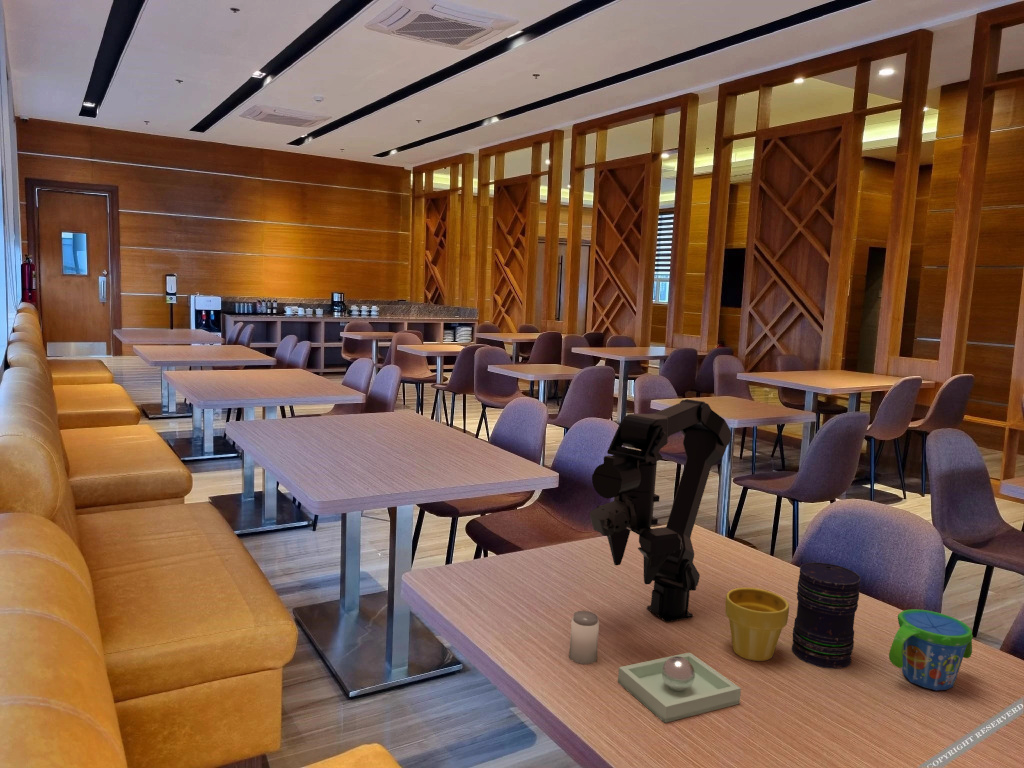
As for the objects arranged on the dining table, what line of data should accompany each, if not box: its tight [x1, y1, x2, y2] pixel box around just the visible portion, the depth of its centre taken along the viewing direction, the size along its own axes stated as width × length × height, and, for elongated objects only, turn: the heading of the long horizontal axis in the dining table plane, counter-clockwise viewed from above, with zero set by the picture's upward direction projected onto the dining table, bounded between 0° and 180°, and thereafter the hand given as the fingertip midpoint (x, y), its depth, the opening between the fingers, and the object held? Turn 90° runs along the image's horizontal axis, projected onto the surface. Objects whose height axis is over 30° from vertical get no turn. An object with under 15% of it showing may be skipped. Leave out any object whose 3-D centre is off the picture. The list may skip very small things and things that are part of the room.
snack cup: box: [888, 608, 974, 691], centre depth 124 cm, size 16×10×10 cm
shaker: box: [568, 610, 600, 665], centre depth 126 cm, size 5×5×7 cm
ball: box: [662, 657, 695, 691], centre depth 116 cm, size 5×5×5 cm
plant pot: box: [724, 587, 790, 662], centre depth 131 cm, size 10×10×10 cm
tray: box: [617, 651, 742, 724], centre depth 117 cm, size 14×12×2 cm
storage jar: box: [791, 562, 861, 670], centre depth 131 cm, size 10×10×15 cm
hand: (631, 574), depth 132 cm, fingers open, 9 cm apart
